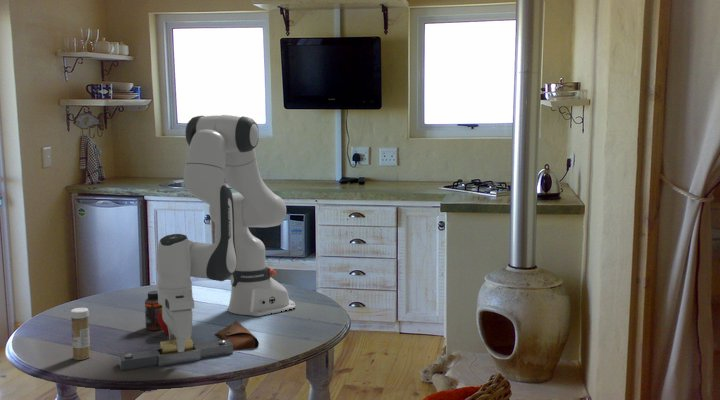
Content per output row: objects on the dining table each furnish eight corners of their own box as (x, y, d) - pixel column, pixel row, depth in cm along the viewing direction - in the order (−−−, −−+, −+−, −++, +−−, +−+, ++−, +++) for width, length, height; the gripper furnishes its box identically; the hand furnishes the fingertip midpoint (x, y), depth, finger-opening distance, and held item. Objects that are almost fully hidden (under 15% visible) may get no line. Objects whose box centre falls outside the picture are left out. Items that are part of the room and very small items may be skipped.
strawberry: (176, 329, 219) (175, 297, 218) (179, 337, 212) (178, 304, 211) (156, 331, 217) (155, 299, 216) (159, 339, 210) (158, 306, 209)
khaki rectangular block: (190, 355, 197) (190, 337, 197) (193, 358, 195) (192, 340, 194) (160, 359, 194) (160, 341, 193) (163, 363, 191) (162, 345, 190)
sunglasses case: (211, 333, 215) (222, 313, 216) (231, 342, 218) (241, 322, 219) (230, 352, 199) (242, 330, 200) (251, 360, 203) (262, 339, 204)
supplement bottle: (170, 326, 222) (168, 290, 221) (157, 331, 217) (155, 295, 215) (154, 324, 225) (153, 288, 223) (141, 329, 219) (140, 293, 218)
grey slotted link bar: (226, 346, 204) (226, 336, 203) (234, 354, 197) (233, 343, 197) (118, 363, 191) (117, 351, 190) (122, 371, 184) (121, 360, 184)
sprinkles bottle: (69, 357, 194) (67, 309, 193) (85, 353, 198) (83, 306, 196) (78, 361, 191) (75, 312, 190) (94, 357, 195) (91, 309, 193)
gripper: (155, 288, 200) (157, 336, 201) (171, 306, 181) (172, 359, 183) (178, 285, 202) (180, 333, 204) (195, 303, 184) (197, 355, 186)
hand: (176, 345), depth 194 cm, fingers open, 8 cm apart
